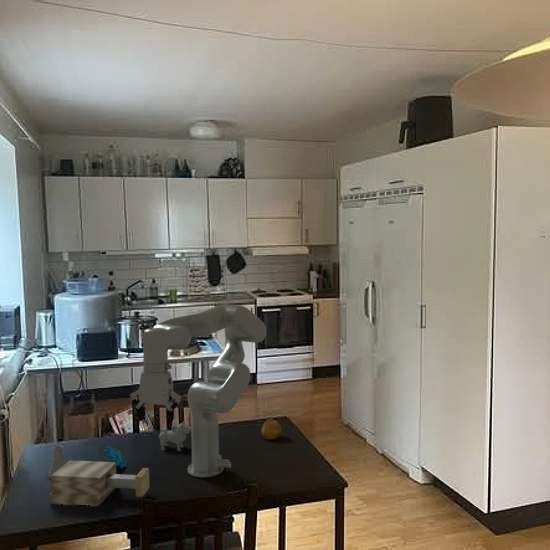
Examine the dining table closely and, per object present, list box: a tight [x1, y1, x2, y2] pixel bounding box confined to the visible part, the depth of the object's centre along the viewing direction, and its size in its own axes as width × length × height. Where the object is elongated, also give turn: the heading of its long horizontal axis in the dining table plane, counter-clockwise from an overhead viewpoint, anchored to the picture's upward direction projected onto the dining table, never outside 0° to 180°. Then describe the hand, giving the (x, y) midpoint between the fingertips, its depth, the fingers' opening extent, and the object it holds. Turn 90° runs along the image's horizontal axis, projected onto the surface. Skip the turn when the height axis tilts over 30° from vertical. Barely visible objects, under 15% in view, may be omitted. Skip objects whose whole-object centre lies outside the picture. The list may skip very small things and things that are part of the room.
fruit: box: [261, 418, 282, 440], centre depth 221 cm, size 8×8×8 cm
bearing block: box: [49, 460, 117, 507], centre depth 172 cm, size 16×14×8 cm
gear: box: [103, 445, 127, 469], centre depth 194 cm, size 11×6×10 cm
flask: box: [47, 445, 67, 480], centre depth 187 cm, size 7×7×10 cm
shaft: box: [106, 467, 150, 498], centre depth 171 cm, size 20×6×6 cm, turn 83°
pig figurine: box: [158, 421, 191, 452], centre depth 210 cm, size 5×13×11 cm, turn 83°
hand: (155, 421), depth 170 cm, fingers open, 9 cm apart
